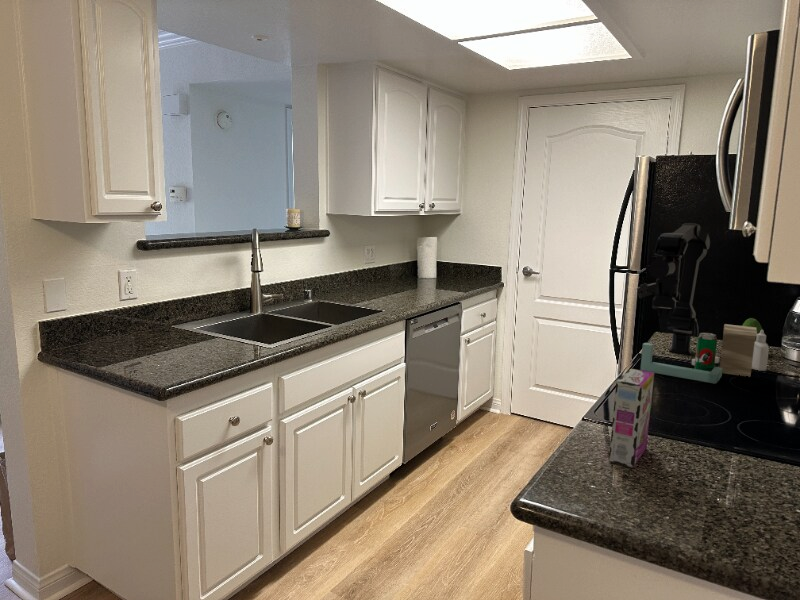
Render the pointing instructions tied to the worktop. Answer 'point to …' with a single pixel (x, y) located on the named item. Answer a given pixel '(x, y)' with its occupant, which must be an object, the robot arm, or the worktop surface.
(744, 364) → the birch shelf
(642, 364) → the crook tool
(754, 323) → the avocado
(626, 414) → the candy bar box
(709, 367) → the soda can
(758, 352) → the eye dropper bottle
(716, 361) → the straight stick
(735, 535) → the worktop surface
